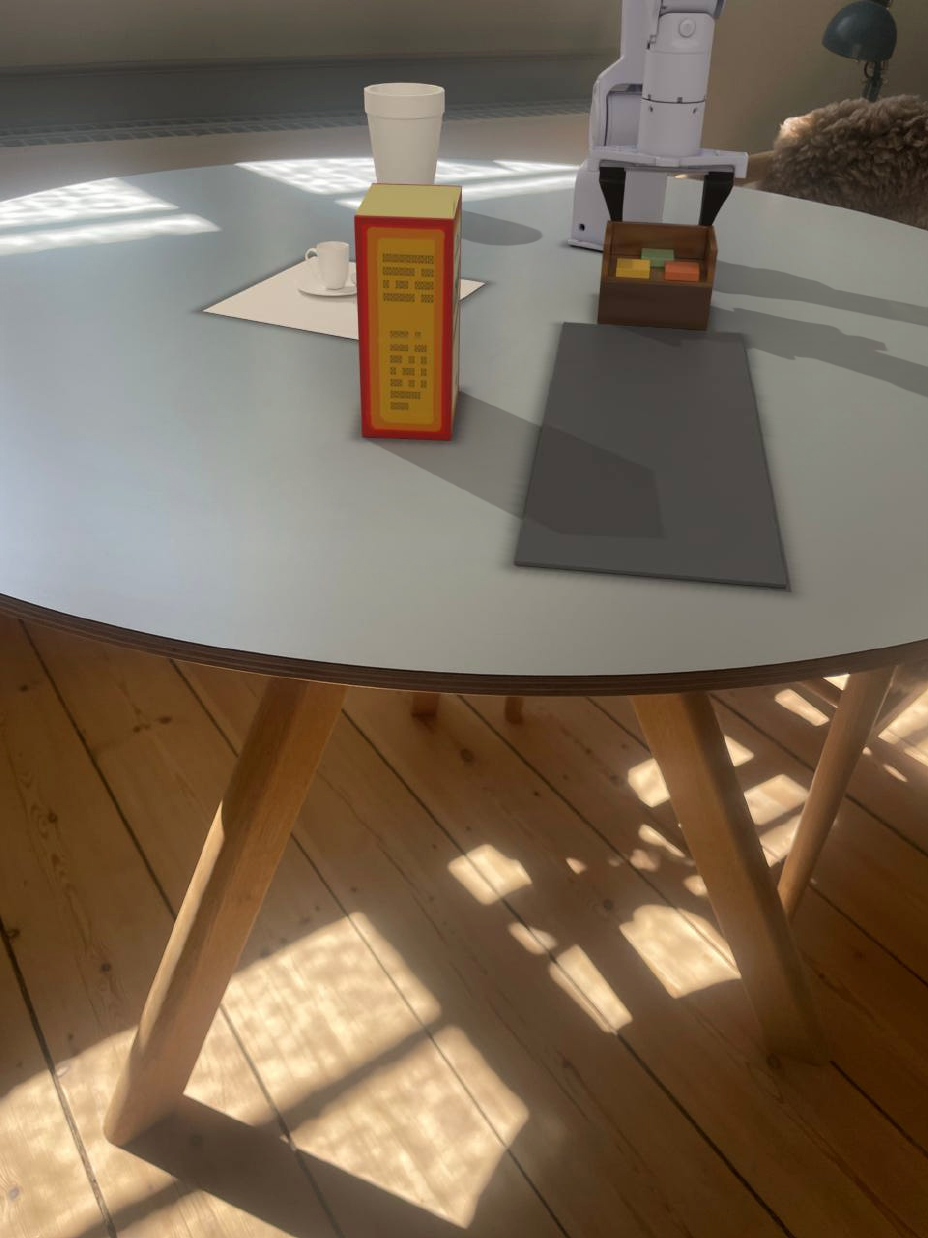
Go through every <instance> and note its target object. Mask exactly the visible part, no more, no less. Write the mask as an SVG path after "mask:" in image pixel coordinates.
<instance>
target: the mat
mask: <svg viewBox="0 0 928 1238" xmlns="http://www.w3.org/2000/svg"><path fill="white" fill-rule="evenodd" d="M558 343H559V344H558V347H557V352H556V357H555V361H554V368H553V372H552V377H551V382H550V387H549V392H548V396H547V401H546V405H545V411H544V416H543V420H542V425H541V428H540V429H541V430H540V435H539V438H538V439H539V440H538V445H537V450H536V455H535V459H534V464H533V468H532V474H531V479H530V482H529V486H528V487H529V488H528V492H527V497H526V503H525V507H524V512H523V517H522V522H521V525H520V531H519V535H518V536H519V537H518V541H517V545H516V551H515V555H514V560H513V565H515V566H526V567H536V568H538V567H539V568H549V569H559V570H570V571H571V570H572V571H584V572H596V573H604V574H605V573H606V574H614V575H615V574H616V575H627V576H629V575H630V576H639V577H651V578H661V579H663V578H664V579H673V580H683V581H684V580H686V581H696V582H697V581H698V582H709V583H721V584H730V585H742V586H755V587H765V588H775V589H776V588H777V589H787V586H788V585H787V579H786V574H785V573H786V572H785V567H784V563H783V556H782V552H781V545H780V540H779V535H778V529H777V524H776V518H775V512H774V507H773V501H772V496H771V490H770V484H769V480H768V474H767V473H768V472H767V467H766V463H765V458H764V457H765V456H764V451H763V446H762V440H761V435H760V430H759V424H758V423H759V422H758V418H757V413H756V407H755V401H754V395H753V391H752V385H751V378H750V374H749V369H748V363H747V358H746V351H745V346H744V340H743V334H742V333H741V332H727V331H711V330H710V331H709V330H696V329H680V328H664V327H648V326H632V325H617V324H601V323H585V322H584V323H583V322H569V321H563V324H562V329H561V333H560V338H559V342H558Z"/></svg>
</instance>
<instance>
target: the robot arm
mask: <svg viewBox="0 0 928 1238" xmlns="http://www.w3.org/2000/svg"><path fill="white" fill-rule="evenodd" d="M726 1H727V0H622V4H621V29H620V55H619V56H620V58H618V59H617V60H616V61H614V62H613V63H612V64H611V65H610V66H608V67H607V68H606V69H605V70H603V71H602V72H601V73H599V75H598V76H597V78H596V80H595V82H594V83H593V86H592V94H591V95H592V97H591V98H592V99H591V104H590V112H589V122H588V124H589V125H588V145H589V147H588V153H587V154H588V155H587V157H586V158H585V159H584V160H583V161H582V162H581V164H580V166H579V168H578V172H577V174H576V178H575V183H574V193H573V205H572V206H573V207H572V223H571V238H569V239H568V240H567V244H568V245H571V246H575V247H581V248H586V249H592V250H597V251H602V252H603V245H604V237H605V230H606V224H607V220H613V221H614V220H615V221H634V222H652V223H663V220H664V211H665V202H666V200H665V199H666V193H667V183H668V175H669V174H675V175H697V176H698V175H699V176H703V182H702V191H701V199H700V200H701V202H700V211H699V217H698V222H697V225H707V226H714V225H713V224H714V222H715V220H716V218H717V216H718V214H719V213H720V211H721V209H722V207H723V205H724V204H725V202H727V201H726V200H727V199H728V198H729V196H730V195H731V193H732V190H733V189H734V185H735V183H734V182H735V181H734V178H735V179H746V177H747V171H748V164H749V154H748V152H747V151H733V150H722V149H713V148H704V147H701V143H702V133H703V125H704V119H705V118H704V117H705V110H706V109H705V108H706V99H707V94H708V93H707V92H708V85H709V75H710V68H711V61H712V59H711V58H712V53H713V43H714V35H715V28H716V27H715V26H716V22H715V20H717V21H718V20H720V18H721V17H722V14H723V12H724V8H725V5H726ZM713 18H714V19H713Z"/></svg>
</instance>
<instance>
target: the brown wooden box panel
mask: <svg viewBox="0 0 928 1238" xmlns="http://www.w3.org/2000/svg"><path fill="white" fill-rule="evenodd" d="M713 290H714V286H713V287H709V286H692V285H675V284H658V283H642V282H625V281H608V280H601V279H600V282H599V294H598V307H597V318H596V324H602V325H618V326H633V327H649V328H665V329H681V330H697V331H708V324H709V319H710V317H709V316H710V309H711V303H712V297H713V296H712V295H713Z"/></svg>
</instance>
